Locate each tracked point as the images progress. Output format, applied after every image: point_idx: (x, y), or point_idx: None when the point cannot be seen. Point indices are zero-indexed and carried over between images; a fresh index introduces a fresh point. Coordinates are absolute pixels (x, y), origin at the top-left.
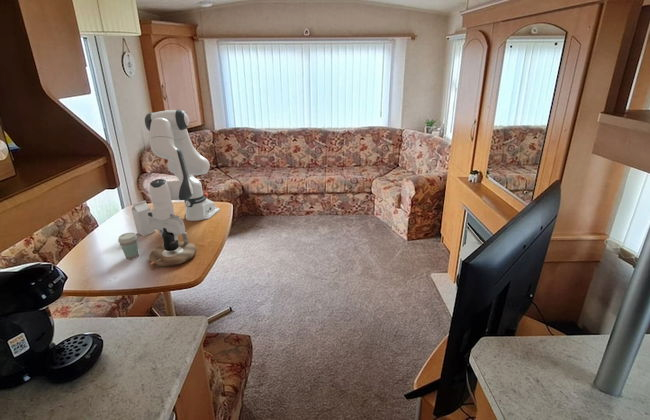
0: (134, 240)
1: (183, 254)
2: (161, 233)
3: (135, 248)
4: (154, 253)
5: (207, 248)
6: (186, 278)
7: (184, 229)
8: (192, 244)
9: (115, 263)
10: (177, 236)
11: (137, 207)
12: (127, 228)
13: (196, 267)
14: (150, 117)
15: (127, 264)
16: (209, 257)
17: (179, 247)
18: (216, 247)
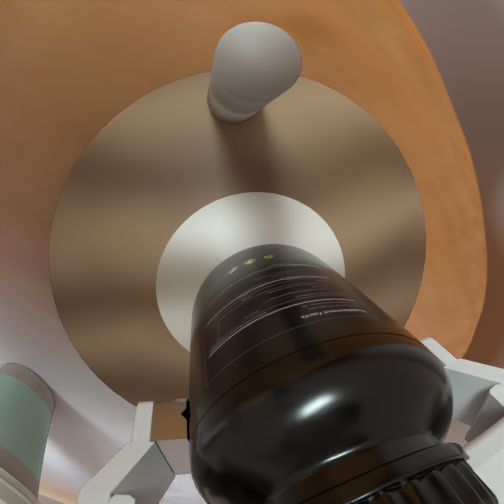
0: (25, 486)
1: (376, 268)
2: (162, 484)
3: (34, 434)
4: (142, 380)
5: (375, 51)
6: (453, 347)
7: None
8: (314, 90)
9: (48, 444)
10: (453, 360)
11: None
12: None
13: (455, 269)
14: None
15: (92, 438)
16: (457, 152)
17: (247, 202)
18: (409, 27)
